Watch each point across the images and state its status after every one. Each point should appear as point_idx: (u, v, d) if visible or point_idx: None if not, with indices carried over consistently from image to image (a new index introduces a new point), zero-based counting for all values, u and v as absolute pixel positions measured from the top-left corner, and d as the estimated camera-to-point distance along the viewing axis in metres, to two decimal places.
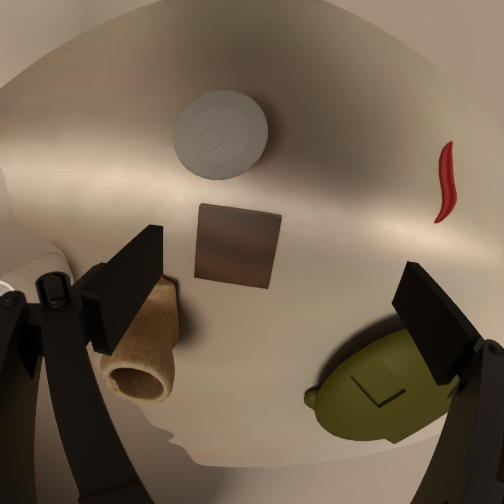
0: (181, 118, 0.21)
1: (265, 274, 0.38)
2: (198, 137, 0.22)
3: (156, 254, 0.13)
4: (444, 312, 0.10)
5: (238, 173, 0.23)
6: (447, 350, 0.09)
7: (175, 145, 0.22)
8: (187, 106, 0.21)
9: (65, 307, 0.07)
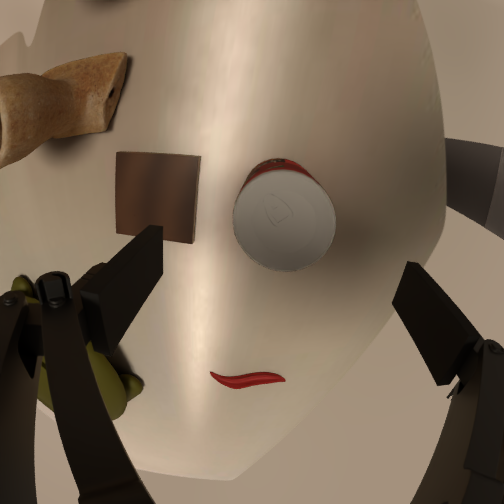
0: (307, 182, 0.20)
1: (130, 230, 0.33)
2: (282, 200, 0.21)
3: (156, 254, 0.13)
4: (444, 312, 0.10)
5: (240, 243, 0.22)
6: (447, 350, 0.09)
7: (275, 173, 0.19)
8: (321, 190, 0.20)
9: (65, 307, 0.07)
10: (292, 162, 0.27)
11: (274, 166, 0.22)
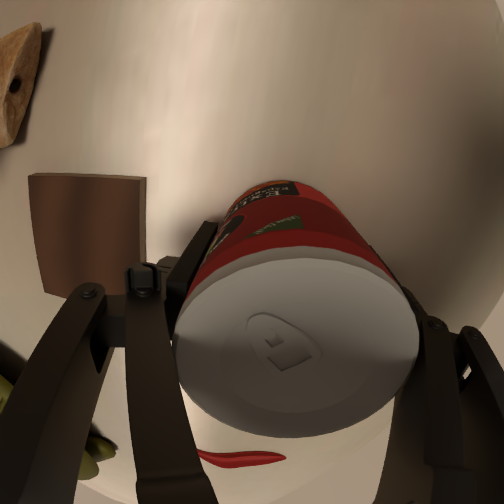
0: (371, 288, 0.07)
1: (60, 290, 0.19)
2: (296, 328, 0.07)
3: None
4: None
5: (197, 403, 0.09)
6: None
7: (280, 266, 0.06)
8: (402, 305, 0.07)
9: (152, 298, 0.09)
10: (311, 191, 0.14)
11: (276, 220, 0.09)
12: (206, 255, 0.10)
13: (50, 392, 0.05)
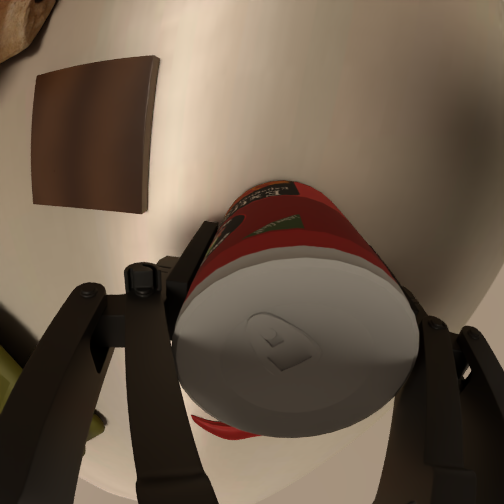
0: (372, 287, 0.07)
1: (50, 196, 0.17)
2: (296, 327, 0.07)
3: None
4: None
5: (197, 403, 0.09)
6: None
7: (281, 265, 0.06)
8: (402, 305, 0.07)
9: (152, 298, 0.09)
10: (311, 191, 0.14)
11: (276, 220, 0.09)
12: (206, 255, 0.10)
13: (50, 392, 0.05)
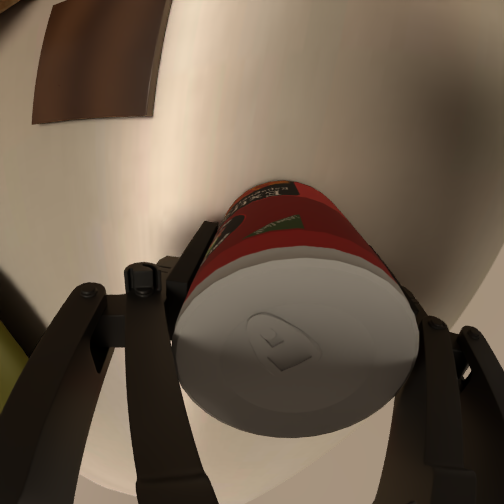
0: (372, 288, 0.07)
1: (50, 112, 0.14)
2: (297, 327, 0.07)
3: None
4: None
5: (197, 403, 0.09)
6: None
7: (281, 266, 0.06)
8: (402, 305, 0.07)
9: (152, 298, 0.09)
10: (311, 191, 0.14)
11: (276, 220, 0.09)
12: (206, 255, 0.10)
13: (50, 392, 0.05)
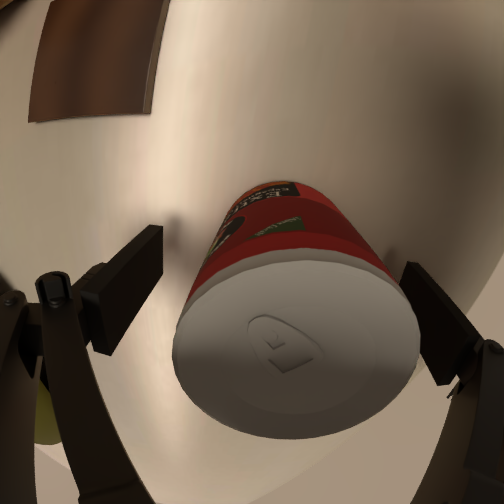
0: (373, 290, 0.07)
1: (47, 109, 0.14)
2: (298, 330, 0.07)
3: (156, 254, 0.13)
4: (444, 312, 0.10)
5: (198, 405, 0.09)
6: (447, 350, 0.09)
7: (283, 267, 0.06)
8: (403, 307, 0.07)
9: (65, 307, 0.07)
10: (311, 192, 0.14)
11: (278, 222, 0.09)
12: (207, 257, 0.10)
13: None
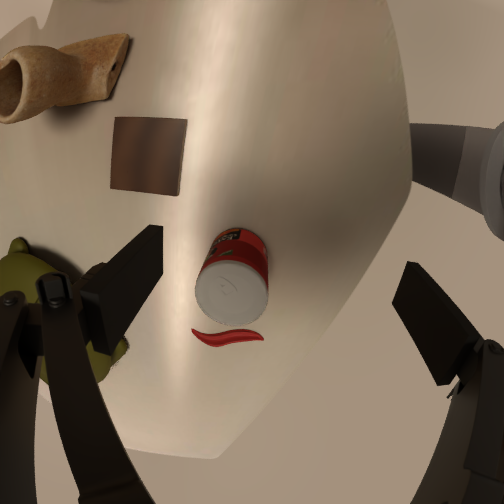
0: (245, 270, 0.29)
1: (123, 185, 0.35)
2: (228, 281, 0.29)
3: (156, 254, 0.13)
4: (444, 312, 0.10)
5: (201, 307, 0.31)
6: (447, 350, 0.09)
7: (222, 264, 0.28)
8: (255, 276, 0.29)
9: (65, 307, 0.07)
10: (246, 235, 0.36)
11: (225, 251, 0.31)
12: (205, 261, 0.32)
13: None
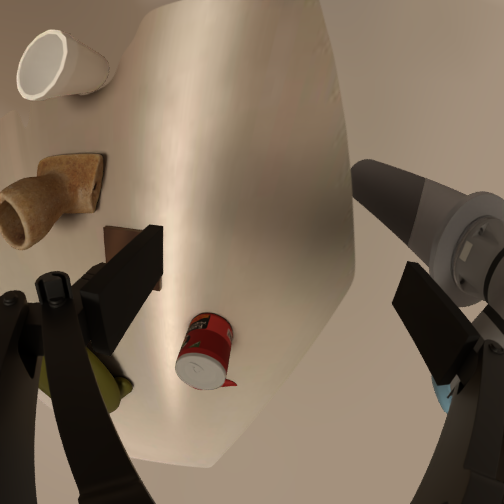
0: (207, 360, 0.38)
1: None
2: (197, 365, 0.39)
3: (156, 254, 0.13)
4: (444, 312, 0.10)
5: (180, 378, 0.41)
6: (447, 350, 0.09)
7: (191, 356, 0.38)
8: (214, 363, 0.39)
9: (65, 307, 0.07)
10: (213, 322, 0.46)
11: (195, 343, 0.41)
12: (182, 346, 0.42)
13: None
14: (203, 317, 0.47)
